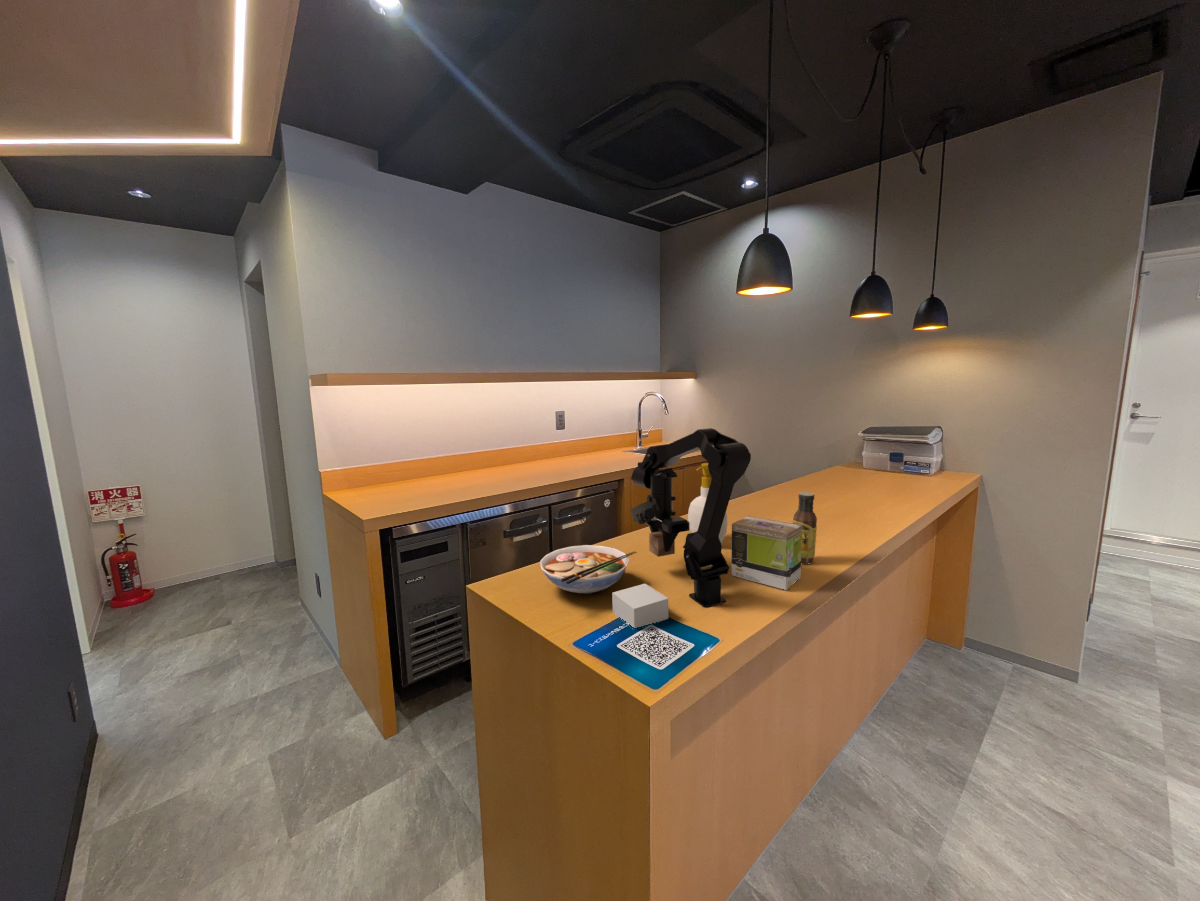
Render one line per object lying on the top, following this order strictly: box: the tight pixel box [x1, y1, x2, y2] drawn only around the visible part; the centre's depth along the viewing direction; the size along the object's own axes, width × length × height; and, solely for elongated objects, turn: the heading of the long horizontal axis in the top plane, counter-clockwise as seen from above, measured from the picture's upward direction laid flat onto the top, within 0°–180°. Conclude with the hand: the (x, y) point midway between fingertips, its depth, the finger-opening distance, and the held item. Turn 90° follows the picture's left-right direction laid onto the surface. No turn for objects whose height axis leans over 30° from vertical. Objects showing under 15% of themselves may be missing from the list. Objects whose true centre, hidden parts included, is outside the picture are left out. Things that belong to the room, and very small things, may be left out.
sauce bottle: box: [792, 491, 818, 565], centre depth 132 cm, size 6×6×20 cm
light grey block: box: [611, 583, 669, 628], centre depth 105 cm, size 9×9×5 cm
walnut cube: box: [648, 531, 676, 557], centre depth 127 cm, size 5×5×5 cm
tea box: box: [730, 515, 802, 591], centre depth 122 cm, size 15×10×15 cm
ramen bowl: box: [539, 544, 637, 595], centre depth 120 cm, size 25×23×8 cm
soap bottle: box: [687, 462, 728, 544], centre depth 148 cm, size 14×9×26 cm, turn 36°
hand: (661, 548), depth 127 cm, fingers closed on walnut cube, 5 cm apart
